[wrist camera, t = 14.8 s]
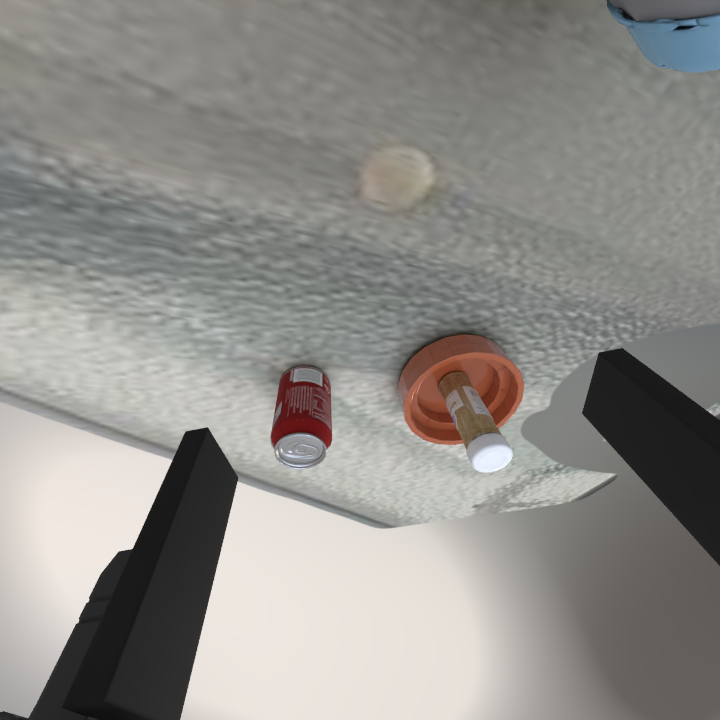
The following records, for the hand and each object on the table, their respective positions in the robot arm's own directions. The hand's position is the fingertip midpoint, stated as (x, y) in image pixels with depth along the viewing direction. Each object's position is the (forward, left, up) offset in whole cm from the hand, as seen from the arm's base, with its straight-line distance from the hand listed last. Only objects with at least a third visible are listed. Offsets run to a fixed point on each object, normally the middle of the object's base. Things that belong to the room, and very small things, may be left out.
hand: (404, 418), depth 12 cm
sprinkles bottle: (+5, +25, -28) cm, 38 cm away
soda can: (+19, +10, -29) cm, 36 cm away
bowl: (+5, +25, -29) cm, 38 cm away
